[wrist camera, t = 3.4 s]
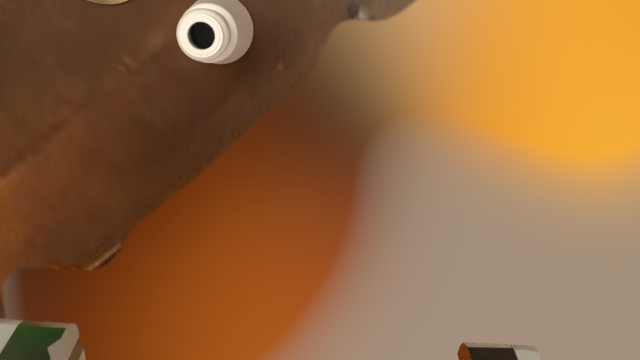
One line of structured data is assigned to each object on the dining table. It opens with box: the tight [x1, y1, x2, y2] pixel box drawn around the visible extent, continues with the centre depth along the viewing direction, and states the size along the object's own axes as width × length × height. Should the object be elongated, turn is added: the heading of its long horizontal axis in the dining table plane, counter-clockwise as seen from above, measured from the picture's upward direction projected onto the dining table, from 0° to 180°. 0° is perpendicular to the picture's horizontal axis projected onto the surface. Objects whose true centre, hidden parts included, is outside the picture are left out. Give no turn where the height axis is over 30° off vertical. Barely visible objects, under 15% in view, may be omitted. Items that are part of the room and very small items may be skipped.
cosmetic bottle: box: [176, 0, 253, 64], centre depth 38 cm, size 6×6×22 cm
